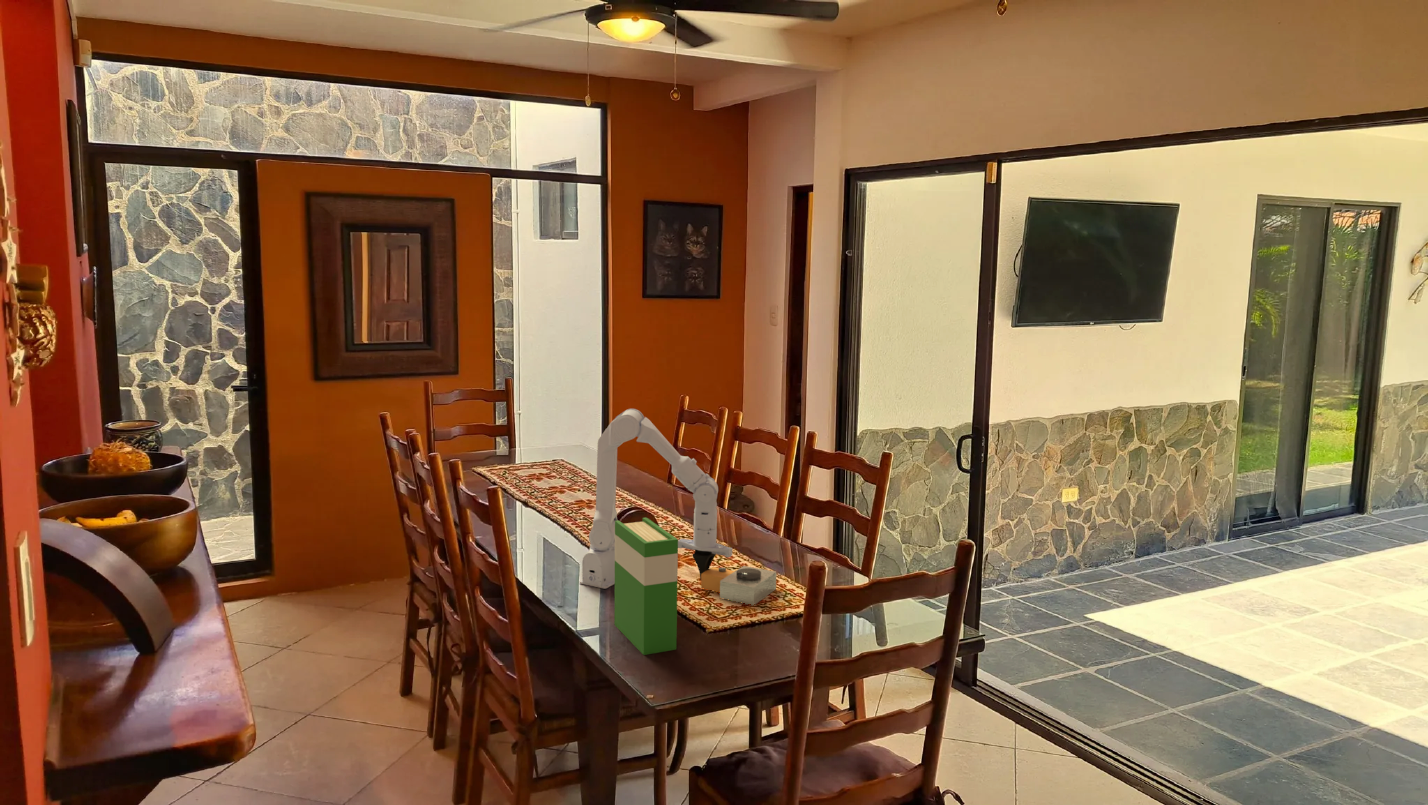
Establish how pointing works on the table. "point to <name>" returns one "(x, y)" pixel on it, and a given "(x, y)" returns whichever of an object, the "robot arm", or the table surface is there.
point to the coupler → (748, 585)
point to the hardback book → (646, 585)
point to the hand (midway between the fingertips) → (703, 579)
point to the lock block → (714, 578)
